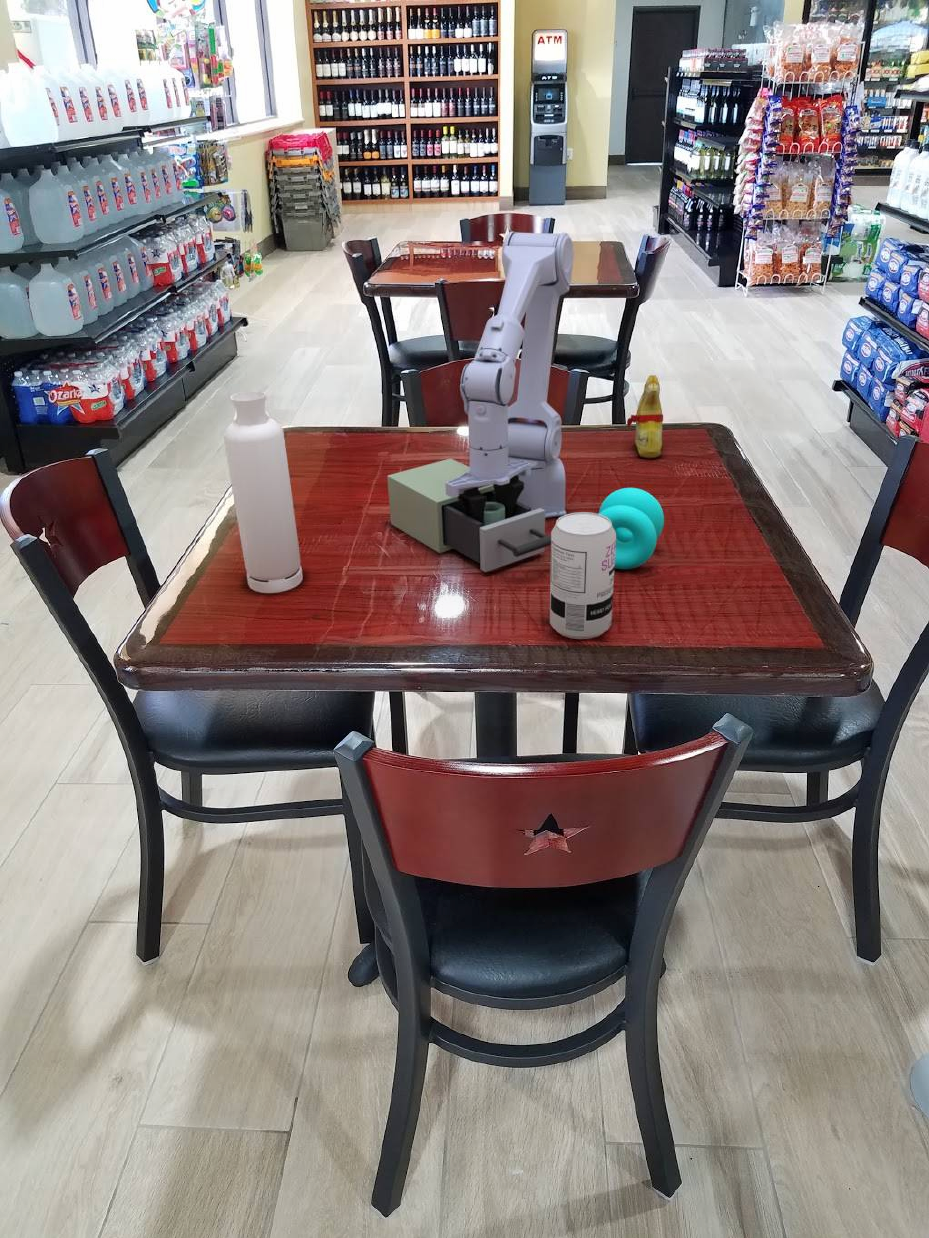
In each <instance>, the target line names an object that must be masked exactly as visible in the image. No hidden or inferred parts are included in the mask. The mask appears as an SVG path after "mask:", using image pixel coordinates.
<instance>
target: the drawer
mask: <svg viewBox="0 0 929 1238" xmlns="http://www.w3.org/2000/svg"><path fill="white" fill-rule="evenodd" d="M481 495H483V496H485V497H487V501H486V502H496V496H495V491H494V490H492V491H489V492H485V493H482V494H481ZM442 526H443V542H444V543H445V544H447V545H449V546H450V547H452V548H454V550H455V551H457V552H459V553H461V554H462V555H464V556H466V557H468V558H469V559H471V560H472V561H474V562H475V563H478V564H480V571H482V572H484V573H487V572H490V571H493V570H496V569H499V568H501V567H504V566H507V565H510V564H513V563H515V562H518V561H521V560H524V559H526V558H527V559H528V558H530V557H532V556H535V555H538V554H541V553H544V552H545V550H546V549H545V548H547V547H549V546H551V534H549V535H547V534H546V518H545V510H543V509H541V508H539V509H536V510H533V511H531V508H530V507H528V506H526V505H524V504H522V503H520V502H518V501H516V504H515V506H514V509H513V513H512V516H511V518H508V519H505V520H502V521H499V522H496V523H493V524H490V525H487V526H483V527H482V523H480V522H479V521H477V520H475V519H473V518H471V517H469V516H467V515H466V513H465V510H464V508H463V506H462V504H461V503H460V501H456V502H452V503H449V504H446V505H442Z"/></svg>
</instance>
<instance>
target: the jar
mask: <svg viewBox="0 0 929 1238" xmlns="http://www.w3.org/2000/svg"><path fill="white" fill-rule="evenodd" d="M502 520H505V506H504V505H503V504H501V503H497V502H486V504H485V508H484V515H483V526H487V525H490V524H493V523H496V522H499V521H502Z"/></svg>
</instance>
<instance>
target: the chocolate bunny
mask: <svg viewBox="0 0 929 1238" xmlns="http://www.w3.org/2000/svg"><path fill="white" fill-rule="evenodd" d="M659 381H660V380H659V378H658V376H657V375H655V374H650V375H649V376H648V377H647V379H646V381H645V384H644V387H643V393H642V394H641V396H640V398H639V401H638V405H637V409H636V414H631V415H630V417H628V419H627V420H626V425H627V427H628V428H627V429H629V428H630V427H631V425H632V423H633V424H634V423H635V437H634V439H635V440H634V442H635V446H636V450H637V452H638V455H639V457H641V458H644V459H655V458H658V457H660V456H661V454H662V450H661V449H662V446H663V422H664V414H663V408H662V404H661V398H660V393H661V385H660V382H659Z"/></svg>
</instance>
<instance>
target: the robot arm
mask: <svg viewBox="0 0 929 1238" xmlns="http://www.w3.org/2000/svg"><path fill="white" fill-rule="evenodd" d="M574 252H575V251H574V244H573V239H572V238H571V237H570V235H569V234H568V233H567V232H561V233H546V232H545V233H542V232H517V231H509V232H508V234H507V235H506V236H505V237H504V239H503V242H502V247H501V263H502V268H503V273H504V276H505V281H504V285H503V290H502V295H501V298H500V302H499V307H498V310H497V314H496V315H494V316H491V318H489V319H488V320H487V322H486V323H485V327H484V330H483V333H482V334H481V335H482V337H481V339H480V341H479V344H478V348H477V350H476V353H475V356H474V358H473V360H472V361H471V362H470V363H466V364H465V365H464V367H463V369H462V373H461V376H460V385H459V391H460V396H461V399H462V401H463V409H464V412H465V414H466V415H467V418H468V421H467V423H468V450H469V451H468V453H469V455H468V457H469V467H470V471H468V472H466V473H464V474H462V475H461V476H459V477H457V478H455V479H453V480H451V481H448V482H445V484H446V495H448V496H450V497H452V498H456V497H457V498H458V499H459V501H460V503H461V504H462V506H463V508H464V510H465V513H466V515H467V516H469V517H471V518H473V519H475V520H477V521H479V522H480V523H482V527H483V515H484V508H485V504H486V501H487V497H485V496H483V495H481V492H480V491H479V488H482V487H486V486H489V485H493V486H494V491H495V496H496V502H497V503H501V504H503V505H504V506H505V519H508V518H511V516H512V513H513V509H514V506H515V504H516V501H518V502H520V503H522V504H524V505H526V506H528V507H530V508H531V511H533V510H536V509H539V508H541V509H543V510H545V519H549V518H555V517H562V516H564V515H566V514H567V511H566V480H567V479H566V470H565V466H564V463H563V461H562V460H561V459H560V458H559V456H560V453H561V449H562V442H563V436H562V418H561V415H560V414H559V413H558V412H557V411H556V410H555V409H554V408H553V407H552V406H551V405H550V404H549V403H548V394H549V393H548V392H549V383H550V375H551V366H552V358H553V357H552V356H553V346H554V340H555V330H556V321H557V312H558V306H559V300H560V297H561V296H562V295H564V294H567V293H569V291H570V285H571V283H572V275H573V268H574V259H575V253H574ZM524 316H525V319H524ZM523 319H524V328H523V326H522V324H521V323H522V321H523ZM521 346H522V349H521ZM520 350H522V351H521V357H520V366H519V367H520V368H519V377H518V379H519V380H518V387H517V388H518V389H517V395H516V400H515V401H514V403H512V404H511V405H509V403H510V401H511V399H512V396H513V394H514V389H515V379H516V375H517V369H516V368H517V367H516V365H515V364H516V361H517V358H518V355H519V353H520ZM520 419H526V420H534V421H541V423H540V422H532V421H531V422H529V421H521V420H520ZM542 422H543V423H542Z"/></svg>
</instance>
